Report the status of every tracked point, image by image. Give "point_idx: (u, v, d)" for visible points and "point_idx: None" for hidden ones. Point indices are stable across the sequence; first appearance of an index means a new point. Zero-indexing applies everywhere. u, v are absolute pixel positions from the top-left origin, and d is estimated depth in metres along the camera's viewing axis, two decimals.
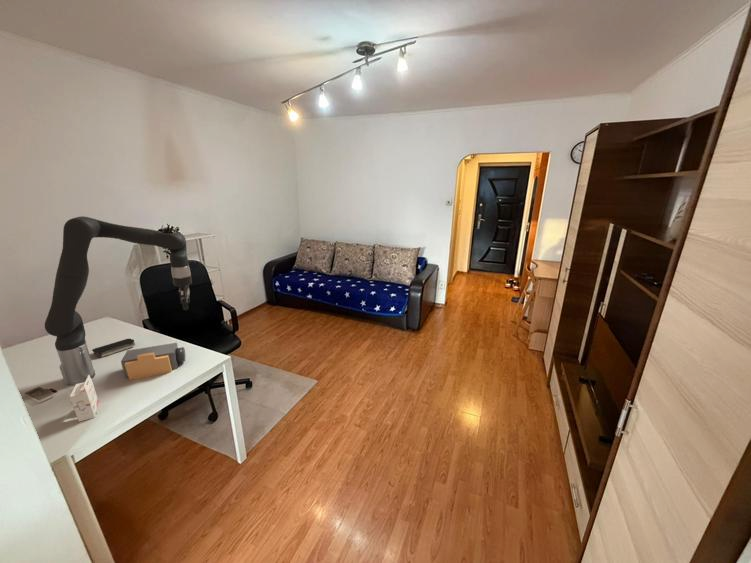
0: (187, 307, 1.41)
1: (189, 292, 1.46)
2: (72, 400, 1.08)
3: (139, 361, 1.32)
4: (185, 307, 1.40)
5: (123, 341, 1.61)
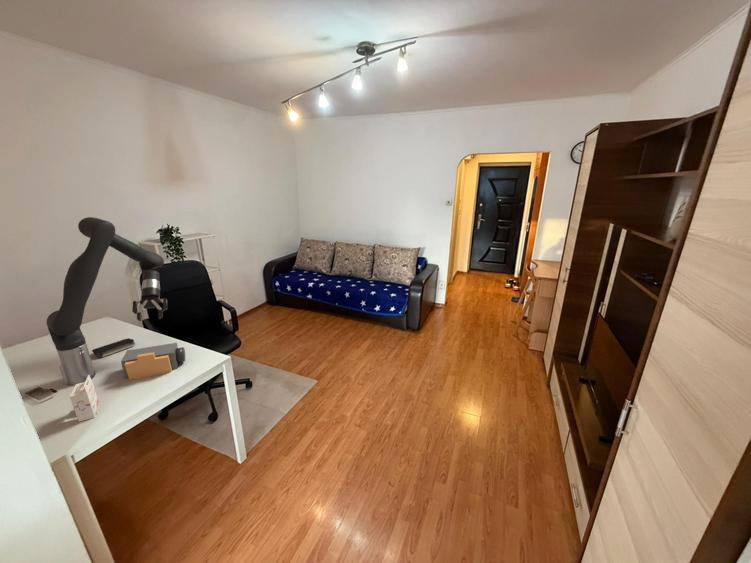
0: None
1: (145, 309, 1.47)
2: (72, 400, 1.08)
3: (139, 361, 1.32)
4: None
5: (122, 341, 1.61)
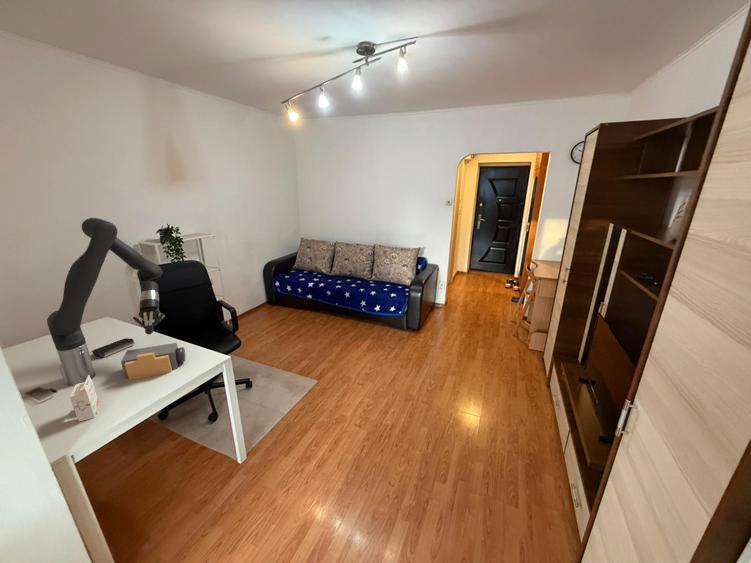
0: None
1: None
2: (72, 400, 1.08)
3: (139, 361, 1.32)
4: None
5: (121, 341, 1.61)
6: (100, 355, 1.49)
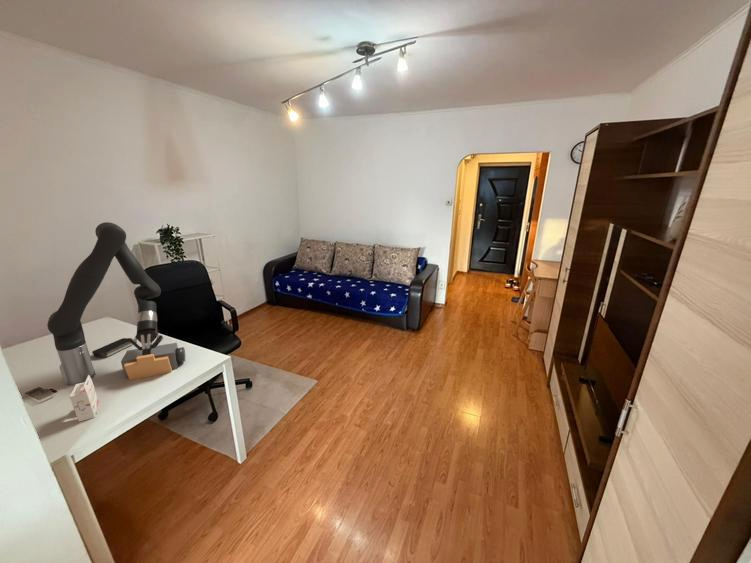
0: None
1: (146, 344, 1.37)
2: (72, 400, 1.08)
3: (139, 363, 1.31)
4: (148, 354, 1.34)
5: (120, 341, 1.61)
6: (102, 355, 1.49)
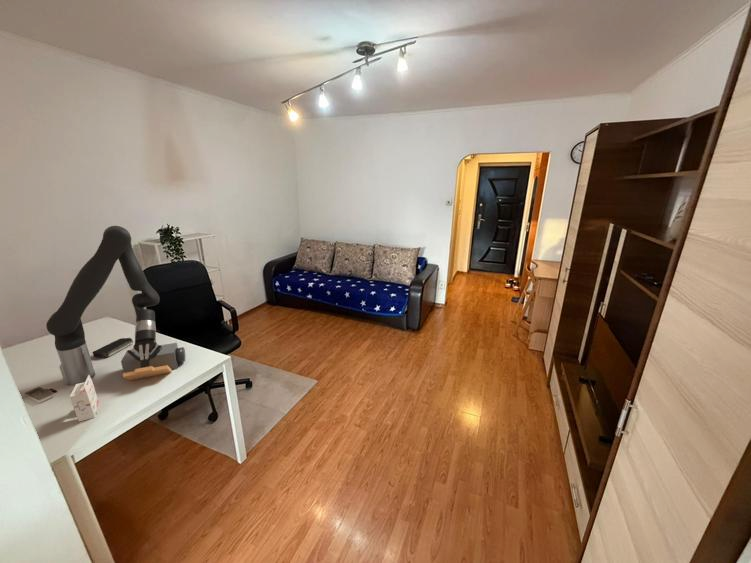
0: None
1: None
2: (72, 400, 1.08)
3: (138, 373, 1.28)
4: None
5: (118, 341, 1.61)
6: (104, 355, 1.49)
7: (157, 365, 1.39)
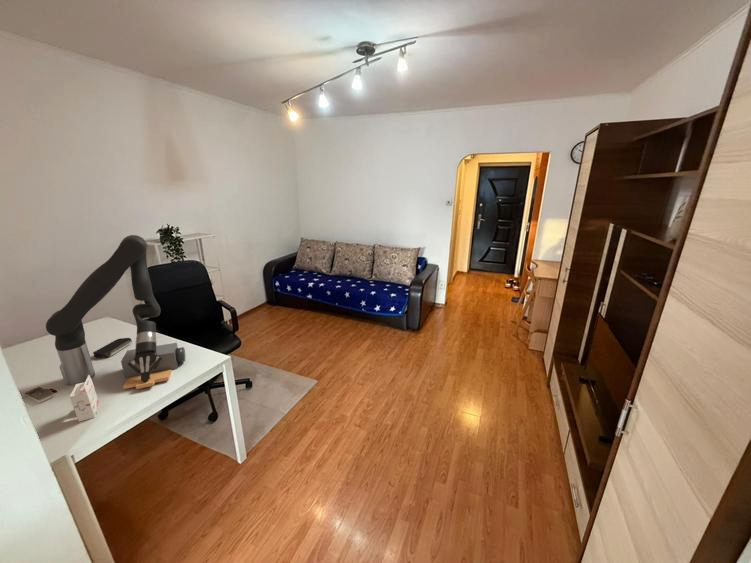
0: None
1: (145, 366, 1.32)
2: (72, 400, 1.08)
3: None
4: None
5: (117, 341, 1.61)
6: (106, 355, 1.50)
7: None
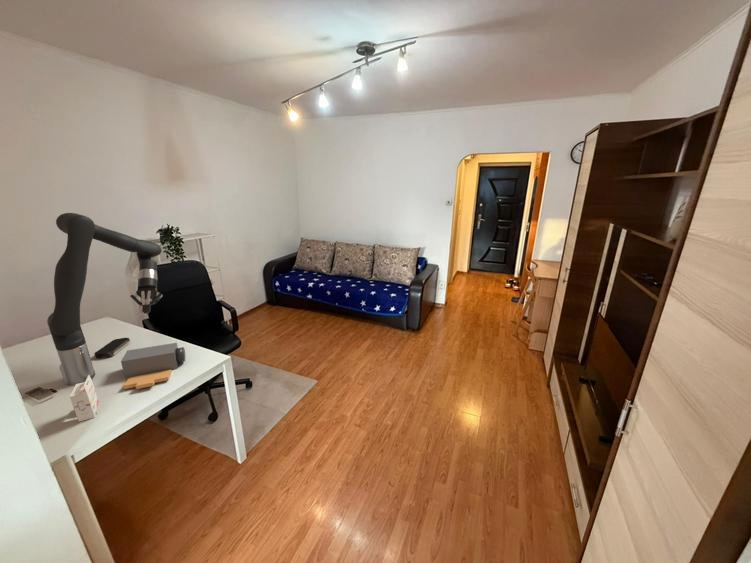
0: None
1: None
2: (72, 400, 1.08)
3: None
4: None
5: (115, 341, 1.60)
6: (109, 354, 1.50)
7: (157, 365, 1.39)
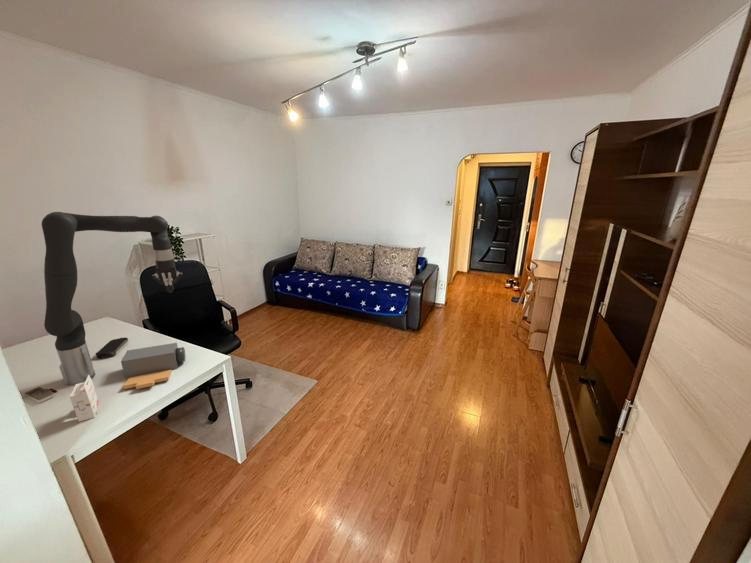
0: None
1: None
2: (72, 400, 1.08)
3: None
4: None
5: (113, 341, 1.60)
6: (112, 354, 1.51)
7: (157, 365, 1.39)
